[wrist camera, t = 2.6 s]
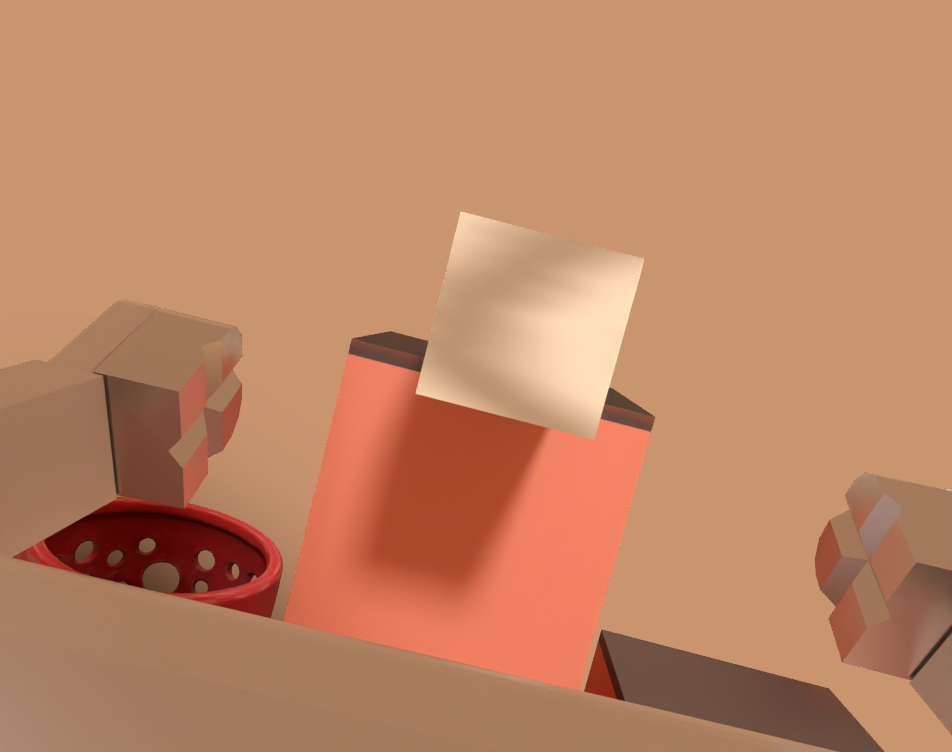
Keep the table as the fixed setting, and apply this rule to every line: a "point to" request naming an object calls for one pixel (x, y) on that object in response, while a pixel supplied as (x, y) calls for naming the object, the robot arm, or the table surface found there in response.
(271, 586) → the plant pot
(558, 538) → the stand
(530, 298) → the box
